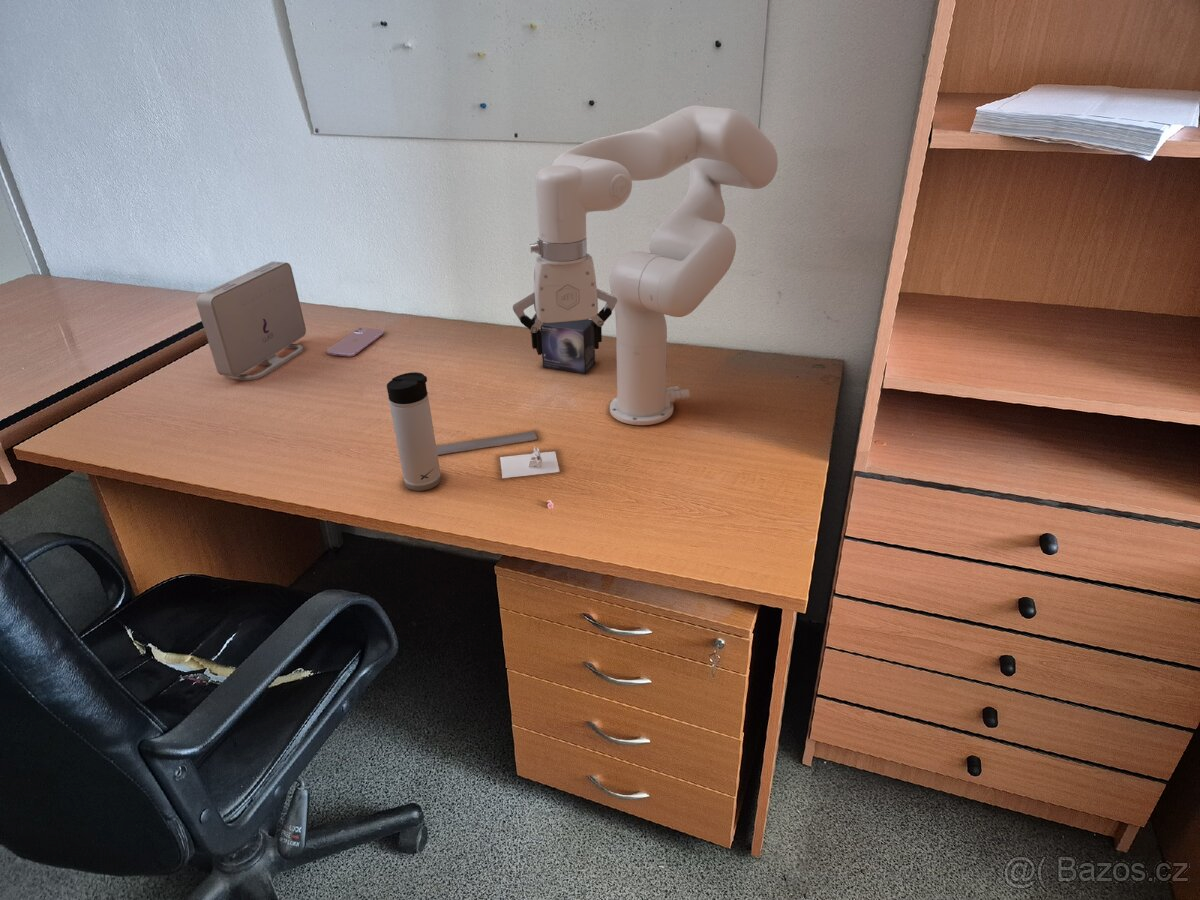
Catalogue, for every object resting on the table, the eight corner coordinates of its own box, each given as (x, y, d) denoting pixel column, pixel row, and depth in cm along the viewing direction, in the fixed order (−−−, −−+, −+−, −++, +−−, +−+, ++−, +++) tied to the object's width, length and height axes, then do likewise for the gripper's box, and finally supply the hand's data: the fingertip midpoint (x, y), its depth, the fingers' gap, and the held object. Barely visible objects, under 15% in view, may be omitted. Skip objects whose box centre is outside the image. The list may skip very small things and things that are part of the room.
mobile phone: (323, 350, 182) (358, 326, 194) (324, 354, 182) (359, 330, 194) (351, 353, 180) (385, 329, 192) (352, 357, 180) (386, 332, 192)
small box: (541, 368, 173) (537, 323, 167) (553, 356, 178) (550, 313, 173) (585, 375, 169) (583, 329, 164) (596, 363, 174) (595, 318, 169)
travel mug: (435, 493, 132) (417, 387, 121) (398, 489, 133) (378, 384, 123) (448, 473, 137) (432, 370, 127) (413, 470, 138) (394, 367, 128)
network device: (244, 388, 168) (218, 299, 158) (211, 383, 171) (183, 296, 160) (316, 342, 189) (298, 261, 179) (286, 338, 191) (266, 258, 181)
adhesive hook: (543, 467, 138) (542, 452, 136) (529, 469, 137) (527, 454, 136) (541, 459, 140) (540, 444, 139) (527, 460, 140) (526, 445, 138)
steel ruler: (534, 432, 149) (534, 431, 148) (537, 440, 146) (537, 438, 146) (428, 448, 144) (427, 447, 144) (429, 457, 142) (429, 455, 142)
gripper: (511, 260, 119) (519, 363, 128) (621, 251, 122) (621, 352, 131) (506, 246, 125) (513, 345, 134) (611, 238, 128) (612, 336, 137)
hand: (567, 348), depth 132 cm, fingers open, 9 cm apart
